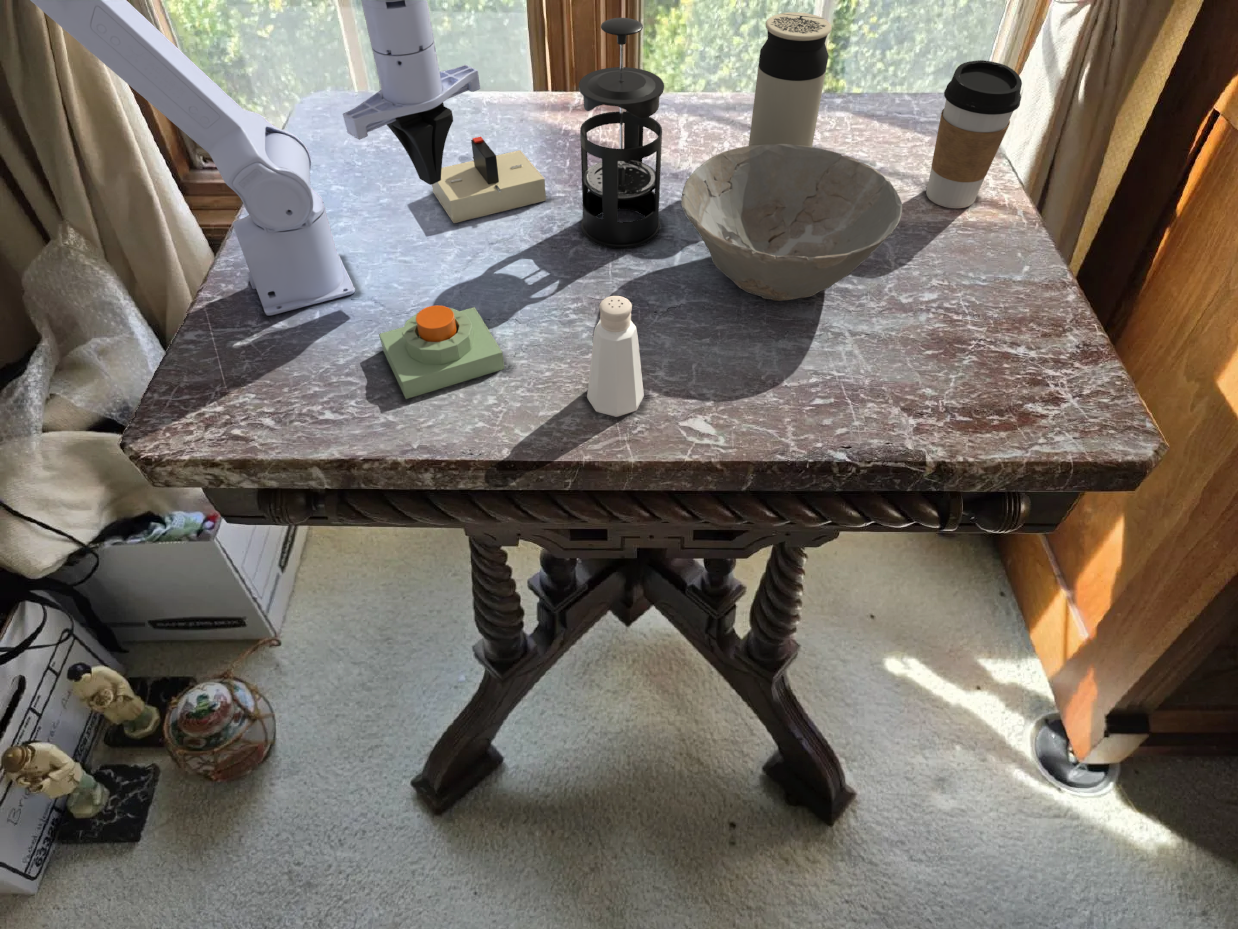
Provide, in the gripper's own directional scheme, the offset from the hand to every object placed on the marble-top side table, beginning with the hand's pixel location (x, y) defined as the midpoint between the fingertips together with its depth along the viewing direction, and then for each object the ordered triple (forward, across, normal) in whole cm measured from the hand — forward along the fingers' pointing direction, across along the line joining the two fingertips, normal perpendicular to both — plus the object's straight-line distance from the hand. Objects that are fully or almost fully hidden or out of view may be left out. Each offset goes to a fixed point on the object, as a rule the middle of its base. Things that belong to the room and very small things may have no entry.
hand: (430, 179), depth 88 cm
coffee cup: (+12, -54, +33) cm, 64 cm away
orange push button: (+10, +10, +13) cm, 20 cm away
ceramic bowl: (+12, -25, +28) cm, 39 cm away
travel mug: (+12, -43, +13) cm, 47 cm away
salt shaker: (+11, +2, +29) cm, 31 cm away
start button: (+7, +10, +13) cm, 18 cm away
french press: (+11, -20, +8) cm, 24 cm away
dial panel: (+11, -13, -8) cm, 18 cm away
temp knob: (+8, -13, -8) cm, 17 cm away
